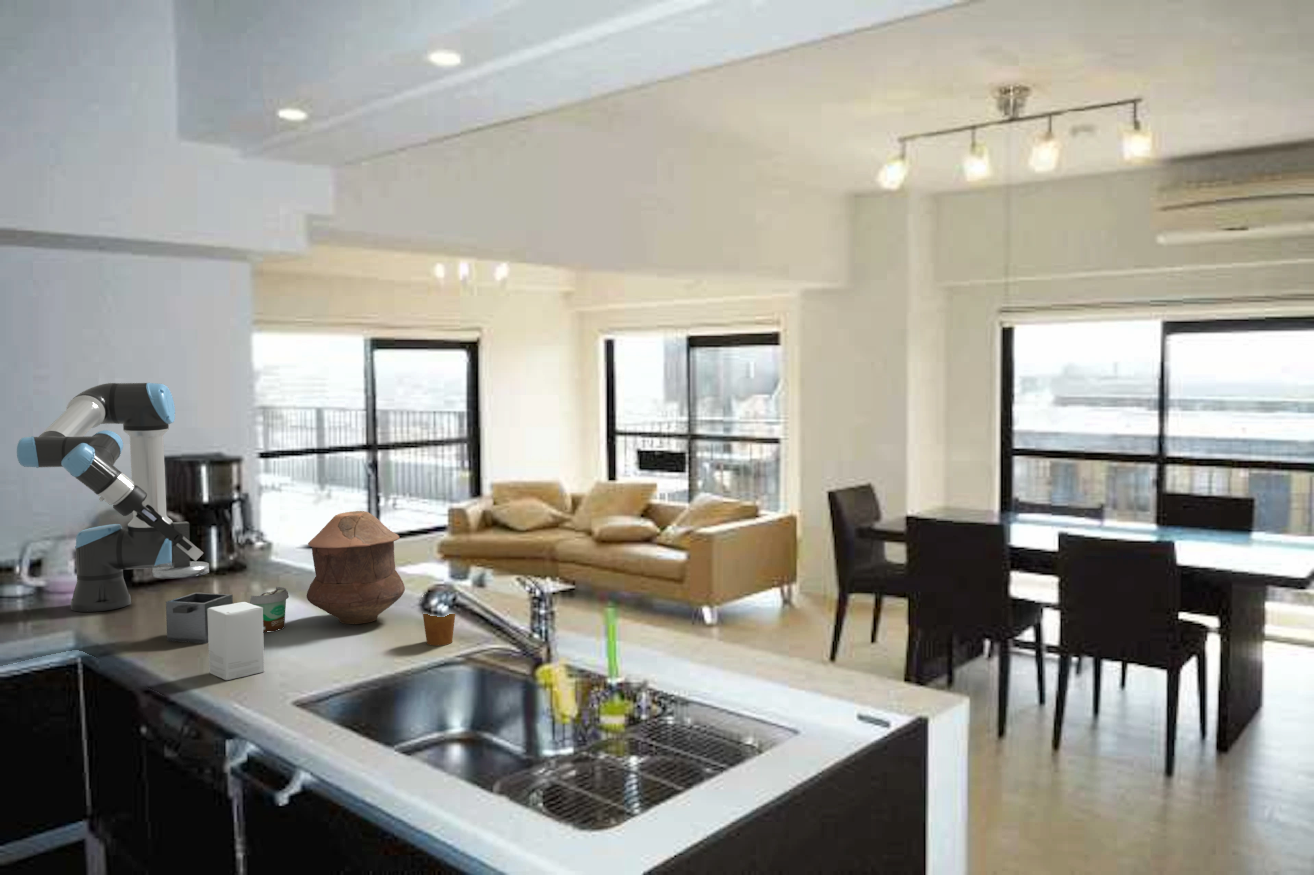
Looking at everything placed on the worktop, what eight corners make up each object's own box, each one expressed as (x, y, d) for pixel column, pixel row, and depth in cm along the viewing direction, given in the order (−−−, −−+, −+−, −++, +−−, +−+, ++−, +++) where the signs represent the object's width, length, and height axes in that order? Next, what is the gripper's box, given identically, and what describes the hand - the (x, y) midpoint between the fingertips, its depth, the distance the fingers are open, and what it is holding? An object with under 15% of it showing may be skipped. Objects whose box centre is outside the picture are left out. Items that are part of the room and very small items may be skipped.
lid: (156, 580, 238) (156, 527, 237) (148, 572, 248) (147, 521, 248) (214, 574, 245) (213, 523, 245) (203, 567, 256) (202, 518, 255)
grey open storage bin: (201, 628, 257) (200, 590, 256) (238, 630, 255) (237, 592, 254) (161, 643, 242) (160, 603, 242) (200, 645, 240) (199, 605, 240)
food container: (271, 635, 250) (271, 597, 249) (250, 634, 251) (249, 596, 250) (298, 623, 262) (298, 587, 261) (278, 622, 263) (277, 586, 263)
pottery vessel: (423, 621, 265) (421, 512, 263) (334, 639, 247) (332, 522, 245) (376, 605, 283) (374, 503, 281) (290, 620, 265) (288, 511, 263)
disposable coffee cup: (425, 649, 237) (424, 601, 237) (416, 640, 246) (415, 593, 245) (463, 644, 242) (463, 597, 241) (453, 635, 250) (452, 589, 250)
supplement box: (265, 672, 219) (264, 606, 218) (226, 681, 212) (224, 614, 211) (247, 664, 225) (245, 600, 224) (208, 673, 218) (206, 607, 217)
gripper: (106, 503, 244) (179, 562, 254) (116, 509, 230) (193, 571, 241) (130, 481, 247) (201, 540, 257) (141, 486, 233) (216, 548, 244)
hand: (197, 555), depth 249 cm, fingers closed on lid, 4 cm apart
